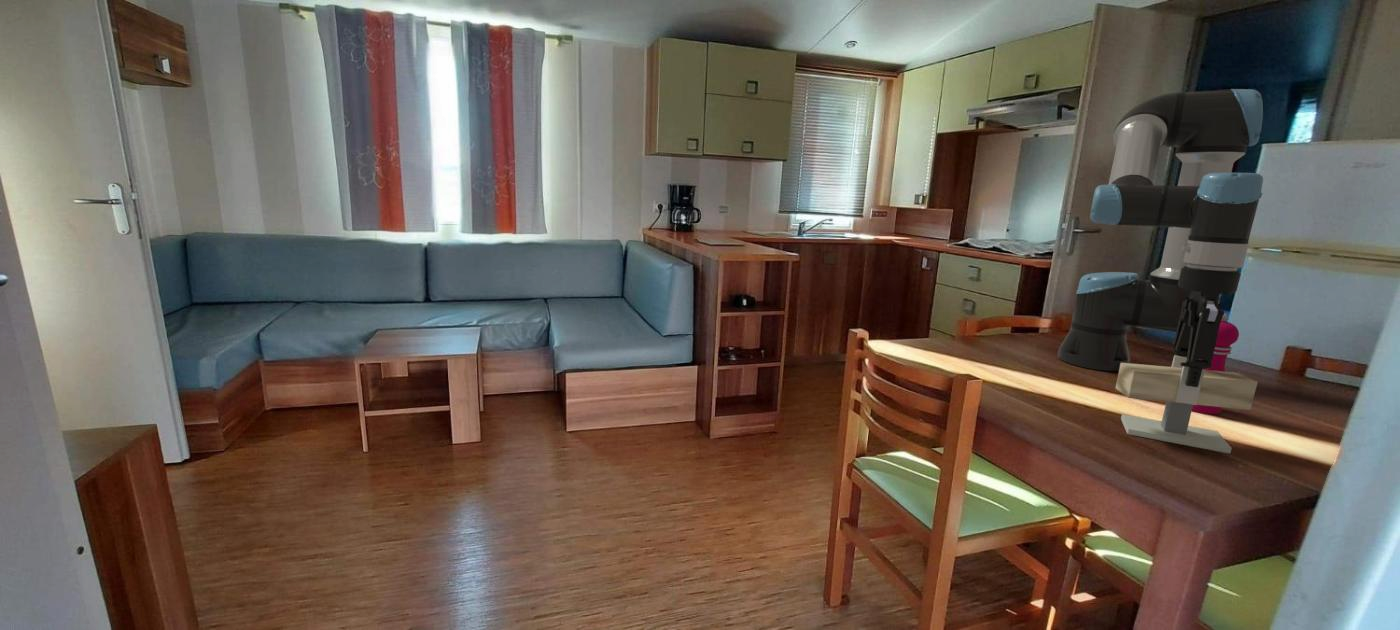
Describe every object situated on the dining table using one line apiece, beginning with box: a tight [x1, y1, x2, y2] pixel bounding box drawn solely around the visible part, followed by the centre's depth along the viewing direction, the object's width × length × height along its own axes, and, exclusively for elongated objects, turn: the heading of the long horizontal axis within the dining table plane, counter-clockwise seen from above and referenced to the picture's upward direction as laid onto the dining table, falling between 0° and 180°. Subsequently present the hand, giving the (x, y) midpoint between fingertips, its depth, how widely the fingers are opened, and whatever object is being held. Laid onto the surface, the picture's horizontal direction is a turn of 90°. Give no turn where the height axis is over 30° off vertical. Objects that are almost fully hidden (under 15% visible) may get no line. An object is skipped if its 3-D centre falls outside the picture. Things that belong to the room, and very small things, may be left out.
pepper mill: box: [1192, 312, 1240, 415], centre depth 111 cm, size 7×7×20 cm
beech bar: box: [1115, 362, 1258, 411], centre depth 98 cm, size 5×18×5 cm, turn 76°
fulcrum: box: [1120, 401, 1233, 454], centre depth 100 cm, size 8×14×7 cm, turn 60°
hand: (1180, 396), depth 99 cm, fingers closed on beech bar, 6 cm apart
